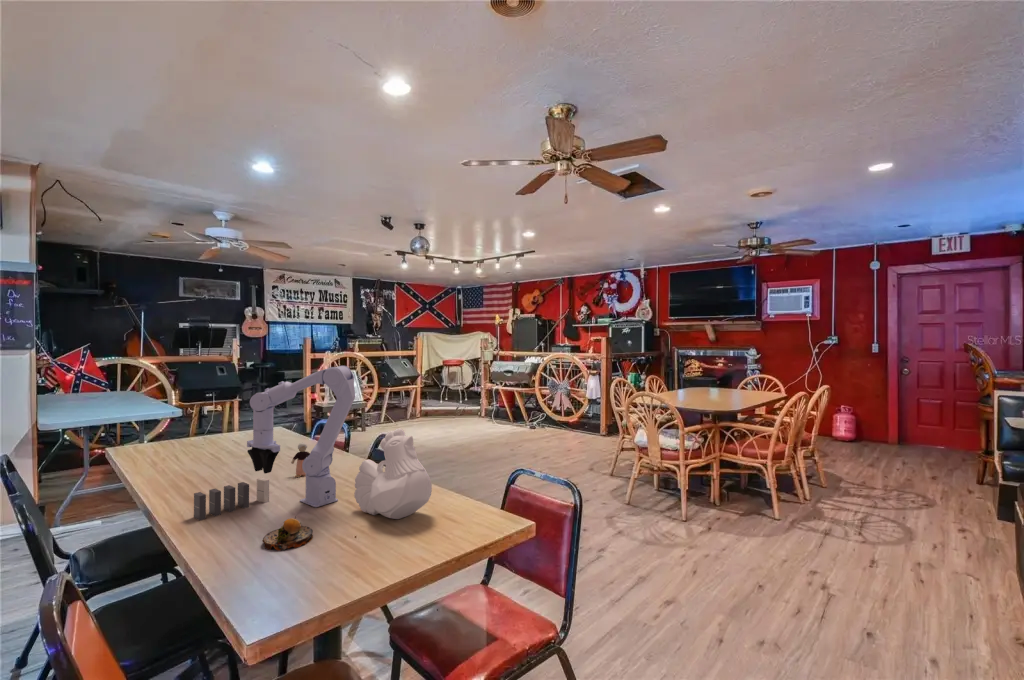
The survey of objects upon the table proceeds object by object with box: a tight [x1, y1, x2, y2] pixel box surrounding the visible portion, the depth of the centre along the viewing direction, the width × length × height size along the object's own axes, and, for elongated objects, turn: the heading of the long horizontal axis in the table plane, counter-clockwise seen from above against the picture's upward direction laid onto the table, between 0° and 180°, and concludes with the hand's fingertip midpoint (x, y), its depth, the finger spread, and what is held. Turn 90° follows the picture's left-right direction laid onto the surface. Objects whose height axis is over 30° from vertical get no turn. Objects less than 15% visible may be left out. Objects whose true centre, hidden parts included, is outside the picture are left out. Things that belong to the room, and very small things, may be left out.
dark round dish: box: [261, 517, 314, 552], centre depth 121 cm, size 12×12×8 cm
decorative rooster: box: [353, 427, 433, 520], centre depth 141 cm, size 25×16×25 cm
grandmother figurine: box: [290, 442, 311, 478], centre depth 177 cm, size 8×4×13 cm, turn 143°
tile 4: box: [193, 491, 207, 521], centre depth 135 cm, size 4×2×7 cm, turn 54°
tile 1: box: [237, 481, 250, 509], centre depth 145 cm, size 4×2×7 cm, turn 54°
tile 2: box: [223, 485, 236, 513], centre depth 142 cm, size 4×2×7 cm, turn 54°
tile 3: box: [208, 488, 222, 517], centre depth 138 cm, size 4×2×7 cm, turn 54°
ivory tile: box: [256, 477, 270, 504], centre depth 150 cm, size 4×2×7 cm, turn 62°
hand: (263, 471), depth 150 cm, fingers open, 4 cm apart
